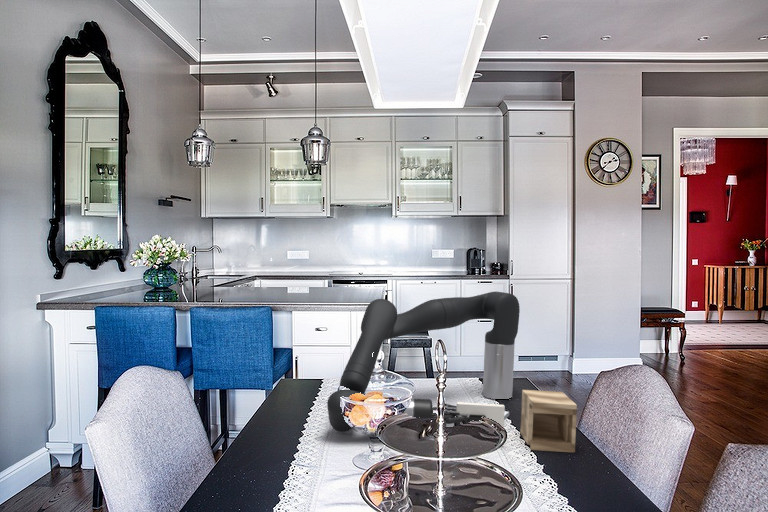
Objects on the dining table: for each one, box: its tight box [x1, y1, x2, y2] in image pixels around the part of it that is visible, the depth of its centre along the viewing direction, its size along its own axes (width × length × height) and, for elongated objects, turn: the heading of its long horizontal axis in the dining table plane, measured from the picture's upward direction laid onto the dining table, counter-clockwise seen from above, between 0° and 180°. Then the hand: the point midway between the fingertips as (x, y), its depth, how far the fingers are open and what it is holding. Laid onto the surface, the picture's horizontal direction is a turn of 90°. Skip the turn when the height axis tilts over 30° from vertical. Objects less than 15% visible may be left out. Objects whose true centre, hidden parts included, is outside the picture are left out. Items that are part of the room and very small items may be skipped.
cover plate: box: [456, 401, 506, 428], centre depth 120 cm, size 2×11×9 cm, turn 87°
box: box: [519, 389, 578, 453], centre depth 123 cm, size 11×10×11 cm
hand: (484, 418), depth 119 cm, fingers closed on cover plate, 1 cm apart
